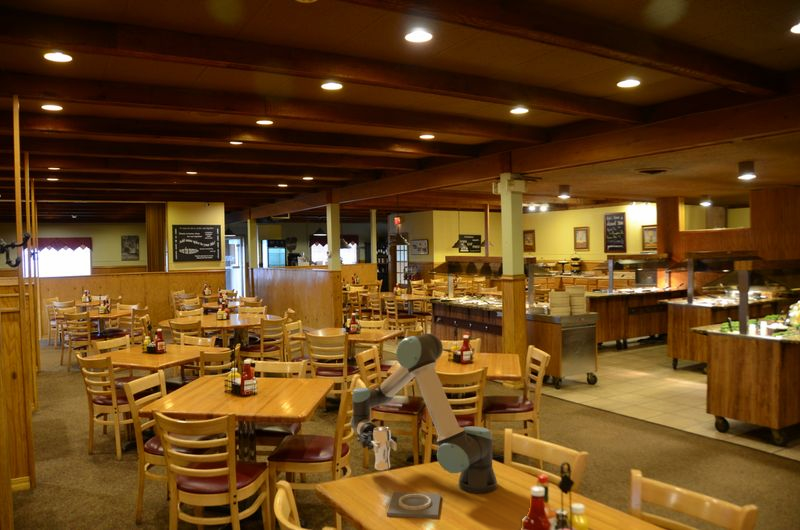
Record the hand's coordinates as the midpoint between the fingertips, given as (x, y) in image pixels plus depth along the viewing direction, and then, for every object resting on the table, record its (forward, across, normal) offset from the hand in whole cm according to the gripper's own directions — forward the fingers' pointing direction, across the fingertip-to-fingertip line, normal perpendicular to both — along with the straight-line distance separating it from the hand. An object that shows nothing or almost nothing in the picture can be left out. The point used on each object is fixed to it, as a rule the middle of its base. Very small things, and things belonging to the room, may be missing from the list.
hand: (386, 448), depth 222 cm
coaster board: (+11, -7, -19) cm, 23 cm away
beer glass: (-5, 0, -9) cm, 10 cm away
